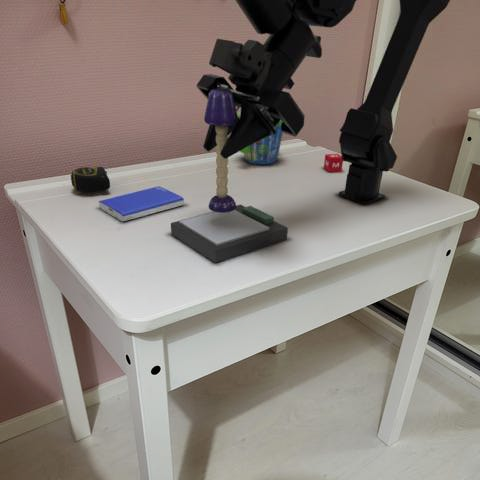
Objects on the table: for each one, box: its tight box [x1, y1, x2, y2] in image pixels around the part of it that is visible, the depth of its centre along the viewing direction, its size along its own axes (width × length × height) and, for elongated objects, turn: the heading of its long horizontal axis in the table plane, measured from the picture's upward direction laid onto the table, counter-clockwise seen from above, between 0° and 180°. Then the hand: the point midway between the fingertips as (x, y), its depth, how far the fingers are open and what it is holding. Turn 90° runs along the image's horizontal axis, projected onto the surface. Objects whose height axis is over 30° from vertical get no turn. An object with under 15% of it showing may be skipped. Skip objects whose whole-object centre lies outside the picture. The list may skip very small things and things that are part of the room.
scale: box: [170, 204, 289, 264], centre depth 77 cm, size 14×12×3 cm
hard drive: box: [98, 185, 185, 222], centre depth 87 cm, size 2×8×12 cm
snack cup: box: [237, 111, 284, 166], centre depth 109 cm, size 16×10×10 cm
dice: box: [323, 153, 344, 173], centre depth 107 cm, size 3×3×3 cm
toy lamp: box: [203, 88, 238, 213], centre depth 70 cm, size 5×5×17 cm
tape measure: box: [70, 166, 111, 194], centre depth 92 cm, size 7×7×4 cm
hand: (213, 153), depth 69 cm, fingers closed on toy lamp, 4 cm apart
